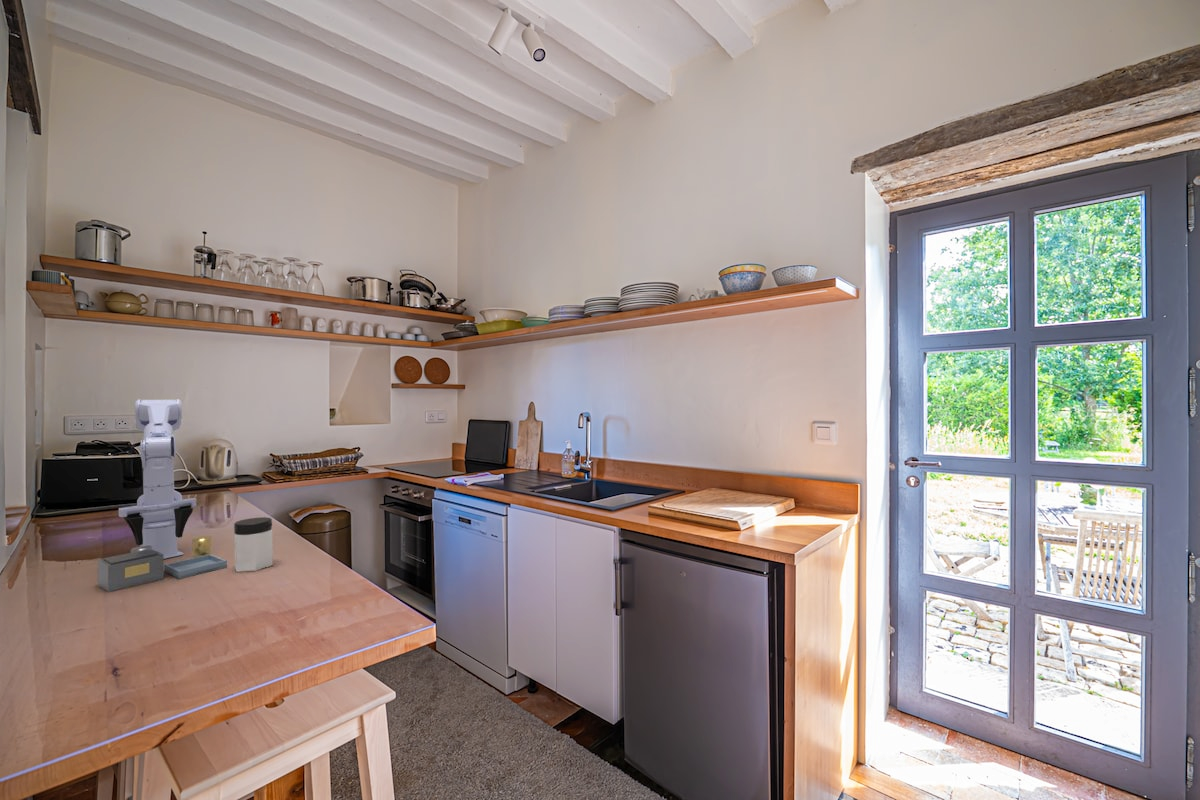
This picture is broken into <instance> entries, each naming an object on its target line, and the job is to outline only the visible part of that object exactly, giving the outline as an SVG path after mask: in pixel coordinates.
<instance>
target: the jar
mask: <svg viewBox="0 0 1200 800" xmlns="http://www.w3.org/2000/svg"><path fill="white" fill-rule="evenodd" d="M233 525H234V527H233V528H234V529H233V531H234V536H233V537H234V540H233V541H234V568H235V572H237V573H240V572H241V573H242V572H256V571H257V572H258V571H260V570H262V568H263V569H265V567H266V568H269V567H271V566H273V562H274V561H273V554H274V553H273V549H274V548H273V530H272V529H273V520H272V518H271V517H265V516H264V517H253V518H252V517H251V518H246V519H240V520H238V521H235V522H234V524H233ZM268 566H269V567H268Z"/></svg>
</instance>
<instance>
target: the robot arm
mask: <svg viewBox="0 0 1200 800" xmlns="http://www.w3.org/2000/svg"><path fill="white" fill-rule="evenodd" d="M134 403H135V404H134V412H135V415H134V417H135V418H134V419H135V422H136V427H137V429H138V431H141V432H143V440H142V439H141V440H140V445H139V446H140V447H139V448H140V449H139V451H140V459H141V464H142V465H141V466H142V469H143V470H142V472H143V473H142V474H143V475H142V479H143V483H142V484H143V487H142V488H143V494H141V495H140V496H139V497H138V499H137V500H136V505H131V506H124V507H119V508H118V517H119V518H123V519H124V521H125V522H126V524H127V525H128V527H129V528H130V530H131V533H132V534H133V537H134V539H135V544H136V545H138V546H139V547H140V546H152V549H153V550H155V551H157V552H159V553H162V554H163V556H164V560H165V559H169V558H174V557H179V556H183V555H184V552H182V551H180V550H178V538H179V539H181V538H183V534H184V530H185V528H186V524H187V522H188V521H189V518H190V516H191V515H192V513H193V512H194V508H193V507H197V498H195V497H194V498H193V497H190V498H184V499H183V495H182V494H181V492H179V491H177V490H175V463H174V461H175V458H176V456H177V445H176V444H177V443H176V442H177V440H176V438H175V435H174V431H177V430H179V429H181V428H180V426H181V424H182V418H183V417H182V412H183V411H182V400H181V399H180V398H177V399H140V398H139V399H136V401H134ZM172 457H173V458H172Z"/></svg>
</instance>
